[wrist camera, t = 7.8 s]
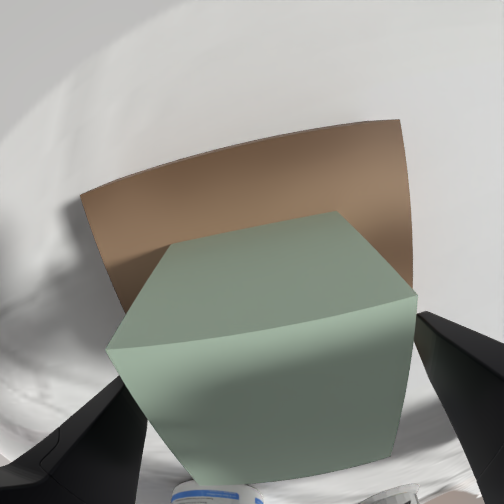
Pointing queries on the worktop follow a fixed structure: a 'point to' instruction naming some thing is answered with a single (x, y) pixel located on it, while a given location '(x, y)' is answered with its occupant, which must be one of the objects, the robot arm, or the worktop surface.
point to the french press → (396, 496)
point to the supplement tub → (215, 494)
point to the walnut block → (257, 197)
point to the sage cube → (271, 351)
